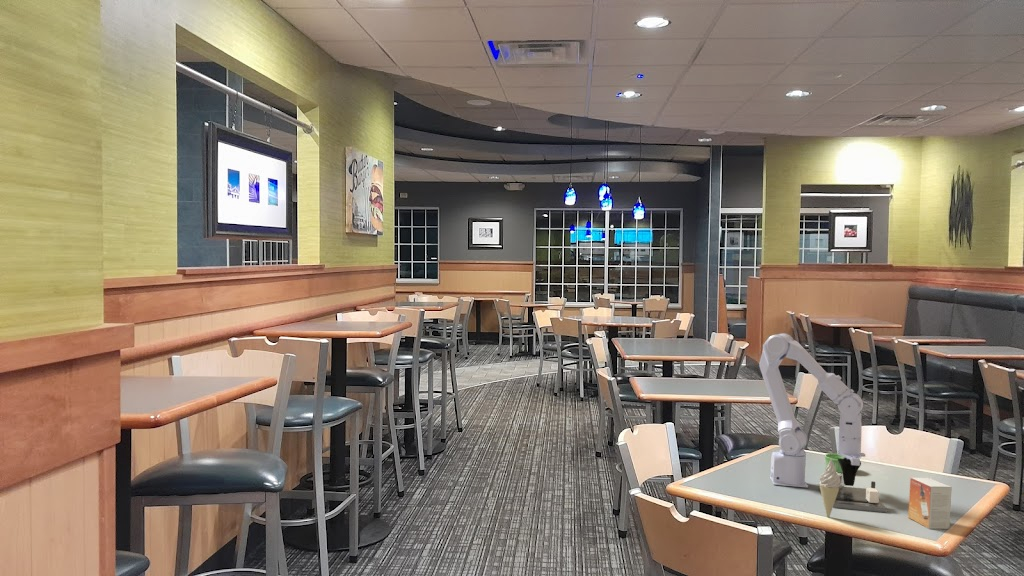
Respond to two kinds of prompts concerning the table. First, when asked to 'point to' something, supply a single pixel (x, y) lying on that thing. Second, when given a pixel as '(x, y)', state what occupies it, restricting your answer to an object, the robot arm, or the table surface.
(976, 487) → the table surface
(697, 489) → the table surface
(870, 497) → the fader knob
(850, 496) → the console plate
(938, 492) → the small box
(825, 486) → the ice cream cone
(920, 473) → the table surface
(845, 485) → the door
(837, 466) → the ramekin
